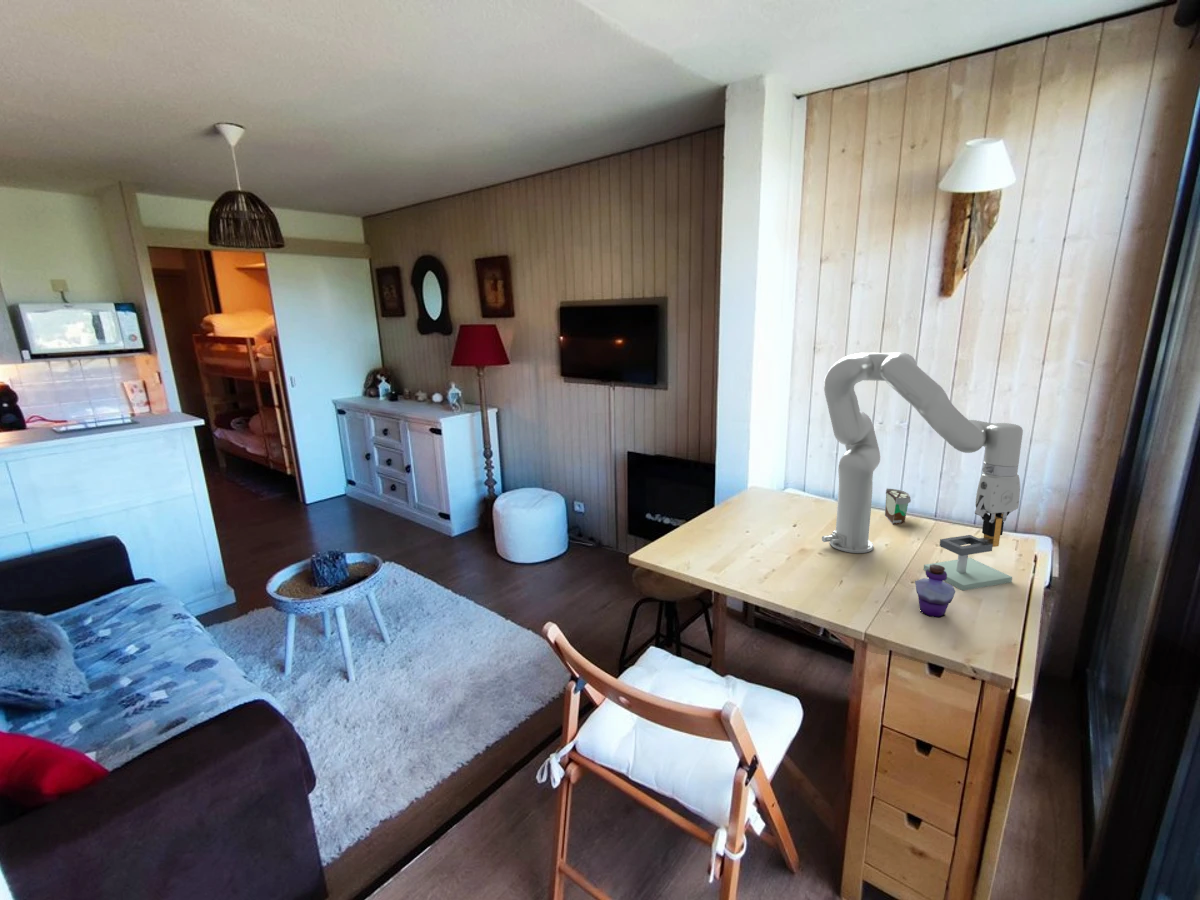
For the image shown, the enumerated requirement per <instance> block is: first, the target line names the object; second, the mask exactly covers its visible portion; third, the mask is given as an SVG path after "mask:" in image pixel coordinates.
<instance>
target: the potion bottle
mask: <svg viewBox="0 0 1200 900" xmlns="http://www.w3.org/2000/svg"><path fill="white" fill-rule="evenodd" d="M944 570H945V568H944V567H943V566H940V565H935V564H933V565H930V568H929V569H926V571H925V575H926V578H925V577H923V578H919V579H917V580H915V581H914V582H915V583H914V584H915V591H916V594H917V597H918V603H919V604H918V606H919V608H920V610H921V611H920V610H919V611H920V613H921V612H923V613H922V614H923V615H925V616H928V617H931V618H937V619H939V618H943V617H945V616H946V611H947V609H948V607H949V604H951V603H952V602H953V598H954V596H955V594H956V590H955V588H954V586H953V585H951V584H950V583H948V582H946V581H944V580H946V579H947V573H946V572H945V571H944Z"/></svg>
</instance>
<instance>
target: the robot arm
mask: <svg viewBox="0 0 1200 900" xmlns="http://www.w3.org/2000/svg"><path fill="white" fill-rule="evenodd" d="M863 381H871V382H873V381H874V382H875V381H876V382H886V384H888V385H889V386H890V387H891V388H892V389H893V390H894V391H896V393H897V394H898V395H900V396H901V397H902V398H903V399H904V400H905V401H906V402H908V404H909V405H911V406H912V407H913V408H914V409H915V410H916V411H917V412H918V414H919V415H920V416H921V417H922V418H923V419H924V420H925V421H926V423H927V424H928V425H929V426H930V427H931V428H932V429H933V430H934V431H935V432H936V433H937V434H938V435H939V436H940V437H941V438H942V439H943V440H945V441H946V442H947V443H948V444H949V445H950V446H952V448H954V449H955V450H957V451H958V452H961V453H964V454H971V453H976V452H977V451H979V450H980V449H982V448H983V447H984V448H985V450H984V458H983V466H982V474H981V475H980V478H979V481H978V486H977V490H976V494H975V501H974V502H975V505H974V506H975V511H974V514H975V515H978V516H980V518H981V520H982V521H983V523H982V528H981V529H982V530H981V533H982V534H983V535H984V534H986V535H988V536H991V537H993V536H994V533H995V525H996V523H994V519H995V516H997V517H999V518H1002V524H1001V532H1000V536H1002V535H1003V534H1004V532H1003V531H1004V524H1005V522H1006V521H1007V519H1008V518H1007V517H1008V516H1009V515H1010V513H1012V512H1014V511H1017V510H1018V508H1019V506H1020V499H1021V498H1020V496H1021V482H1020V476H1019V474H1018V471H1019V466H1020V465H1019V463H1020V455H1021V449H1022V443H1023V434H1024V430H1023V427H1022V426H1021V425H1019V424H1014V423H1008V422H1007V423H1005V422H998V423H997V422H996V423H994V422H987V421H981V420H977V419H975V420H974V419H968V418H967V417H965V416H964V414H962V413H961V412H960V411H959V410H958V409H957V408H956V407H955V405H954V404H953V403H952V401H951V400H950V399H949V397H948V395H947V392H946V391H945V389H944V388H943V387H942V386H941V385H940V384H939V383H937V381H935V379H933V378H932V377H930V376H929V375H928V374H927V373H926V372H925V371H924V370H923V369H922V368H920V367H919V366H918V364H917V361H916V359H915V358H914V357H913V356H912V355H911V354H909V353H906V352H859V353H858V352H857V353H854V354H853V353H852V354H849V355H846V356H844V357H842V358H840V359H839V360H838V361H836V362H835V363H834V364H833V365H832V366H831V367H830V368H829V370H827V373H826V375H825V377H824V381H823V382H824V383H823V389H824V390H823V391H824V395H825V401H826V404H827V408H828V414H829V418H830V421H831V425H832V431H833V436H834V438H835V439H836V440H837V441H838V442H839V443H840V444H842V445H844V446H845V450H846V452H844V454H843V455H842V456H841V458H840V461H839V462H838V471H837V472H838V474H837V475H838V492H837V495H838V496H837V507H836V509H837V510H836V520H835V521H836V522H835V523H836V524H835V530H833V531H832V533H831V534H830V535H822V536H821V541H822V543H827V542H828V543H829V544H830V546H831V547H833V549H836V550H839V551H842V552H845V553H850V554H864V553H869V552H871V551H873V549H874V543H873V542H872V541H870V540H869V537H870V526H871V525H870V524H871V516H872V515H871V514H872V513H871V512H872V499H873V480H874V472H875V470H876V469H877V467H878V466H879V464H880V462H881V452H880V451H881V450H880V448H879V443H878V440H877V435H876V431H875V427H874V424H873V421H872V419H871V418H870V416H869V415H868V414H867V413H865V412H864V411H862V410H861V409H860V406H859V401H858V397H857V394H856V392H855V386H856V384H858V383H860V382H863ZM989 515H990V516H989Z"/></svg>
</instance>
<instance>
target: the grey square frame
mask: <svg viewBox="0 0 1200 900" xmlns="http://www.w3.org/2000/svg"><path fill="white" fill-rule="evenodd" d="M988 515H989V516H990V514H988ZM994 523H996V525H995V533H994V536H993V537H991V536H988V535H986V534H983V537H976V536H974V535H972V534H967V535H959V536H955V537H954V536H953V537H946V538H941V539H939V547H941V548H942V549H945V550H948V551H949V552H952V553H954V554H956V555H957V556H958V555H960V556H964V555H968V556H970V555H976V554H983V553H987V552H993V548H995V547H999V545H1000V539H1001V535H1000V532H1001V524H1002V518H999V517H997V516H995V519H994Z"/></svg>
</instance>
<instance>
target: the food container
mask: <svg viewBox="0 0 1200 900" xmlns="http://www.w3.org/2000/svg"><path fill="white" fill-rule="evenodd" d="M911 502H912V500H911V495H910V494H909V493H908V492H907V491H905V490H904V491H903V490H901V489H897V488H896V489H895V488H886V490H885V505H884V506H885V509H884V516H885V517H886V519H887V520H888V521H889V522H890V524H892V525H894V526H898V525H900V526H901V525H903V524H904V523H905V522H906V518H907V511H908V506H909V504H910V503H911Z"/></svg>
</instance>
